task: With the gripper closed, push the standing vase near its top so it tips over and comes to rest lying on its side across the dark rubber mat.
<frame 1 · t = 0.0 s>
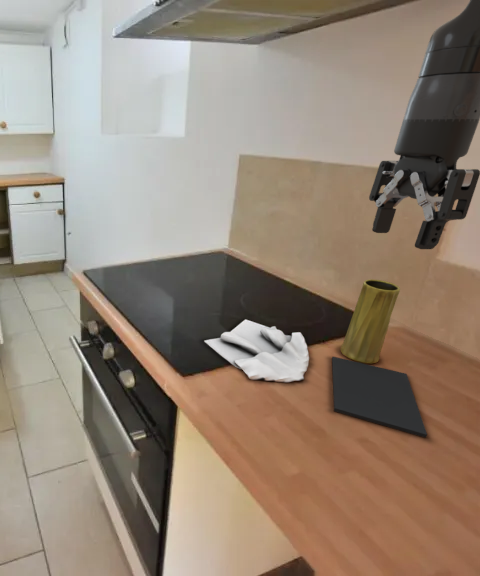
hand: (400, 239, 55), 24 cm above the worktop, tool pointing down, fingers open, 8 cm apart
cloth: (263, 348, 73), on the worktop
mat: (372, 392, 61), on the worktop
vase: (358, 355, 71), on the worktop
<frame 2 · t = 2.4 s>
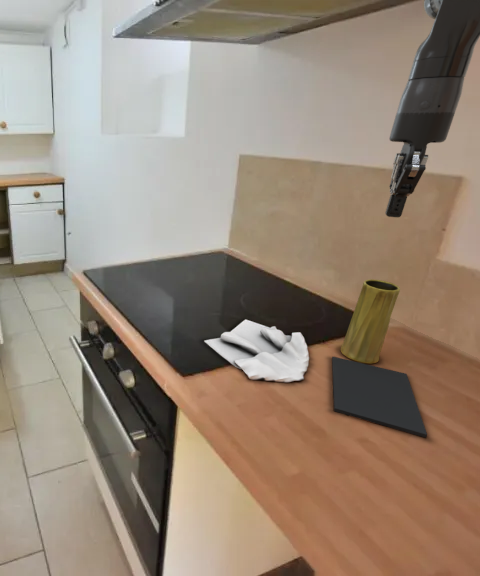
hand: (392, 216, 69), 25 cm above the worktop, tool pointing down, fingers closed
nothing on the worktop moved.
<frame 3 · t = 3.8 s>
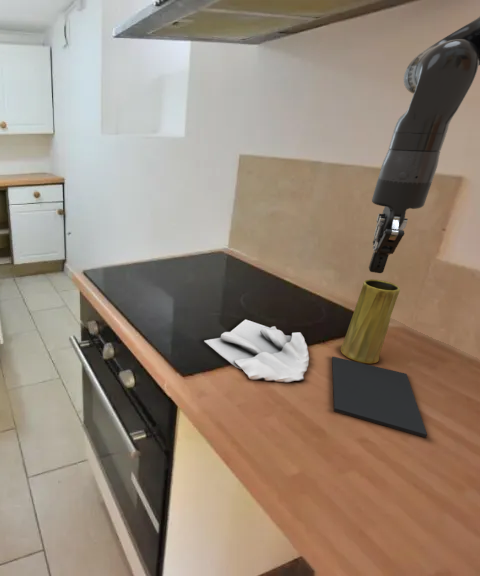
hand: (375, 271, 72), 14 cm above the worktop, tool pointing down, fingers closed
nothing on the worktop moved.
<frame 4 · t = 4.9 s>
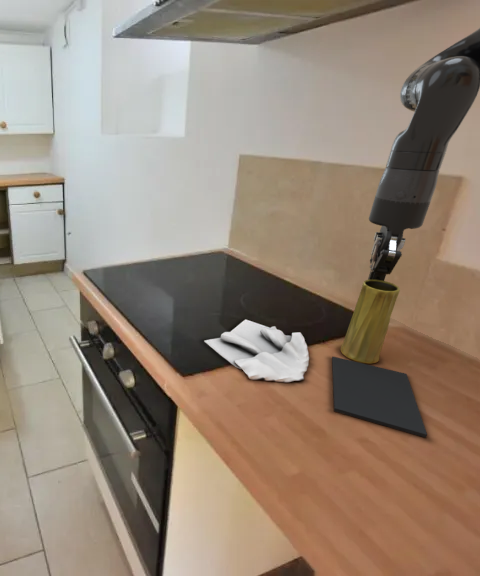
hand: (372, 290, 70), 11 cm above the worktop, tool pointing down, fingers closed
vase: (358, 355, 71), on the worktop, touching gripper
everything else where it was.
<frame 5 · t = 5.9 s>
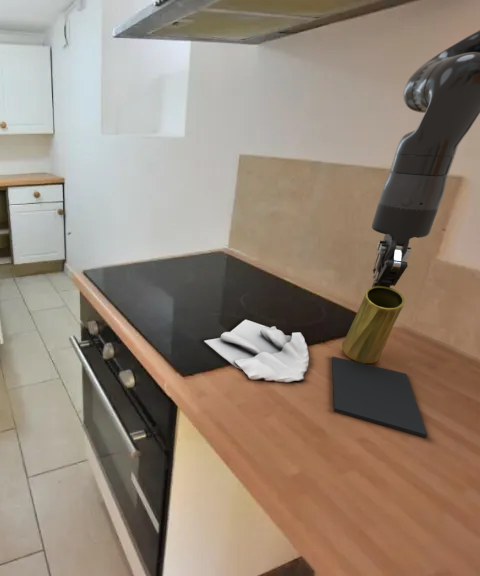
hand: (375, 302, 66), 11 cm above the worktop, tool pointing down, fingers closed
vase: (360, 350, 71), point 1 cm above the worktop
everything else where it was.
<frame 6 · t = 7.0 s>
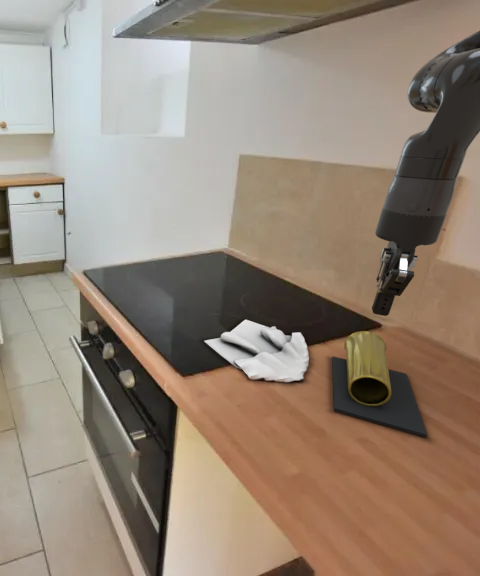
hand: (379, 313, 63), 11 cm above the worktop, tool pointing down, fingers closed
vase: (364, 345, 68), point 4 cm above the worktop, touching mat
everything else where it was.
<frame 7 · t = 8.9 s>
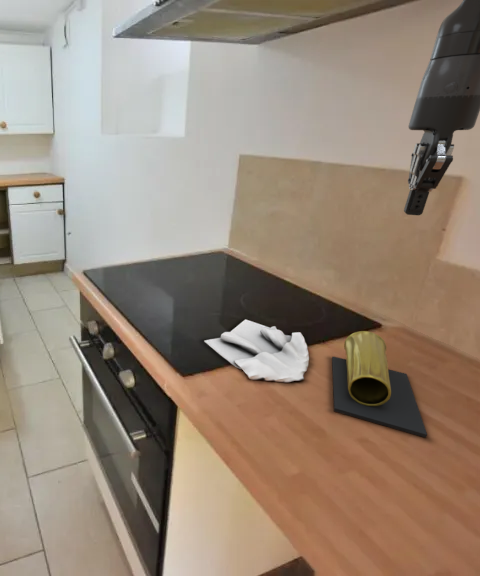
hand: (412, 213, 61), 26 cm above the worktop, tool pointing down, fingers closed
nothing on the worktop moved.
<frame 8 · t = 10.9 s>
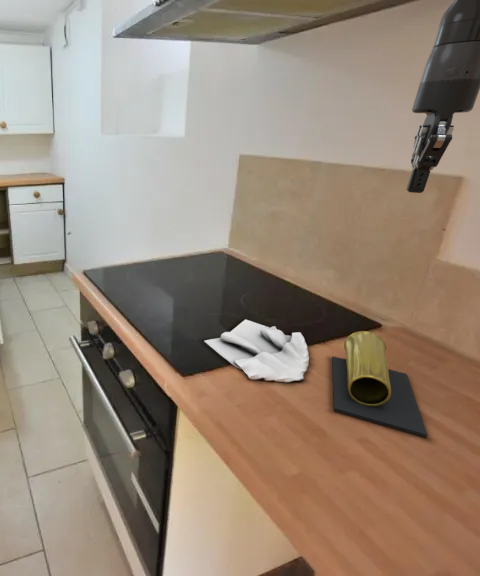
hand: (414, 191, 66), 29 cm above the worktop, tool pointing down, fingers closed
nothing on the worktop moved.
at the end: vase tilted 91°; vase inside the target area (0.2 cm from its centre), point 3.5 cm above the worktop; vase touching mat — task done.
